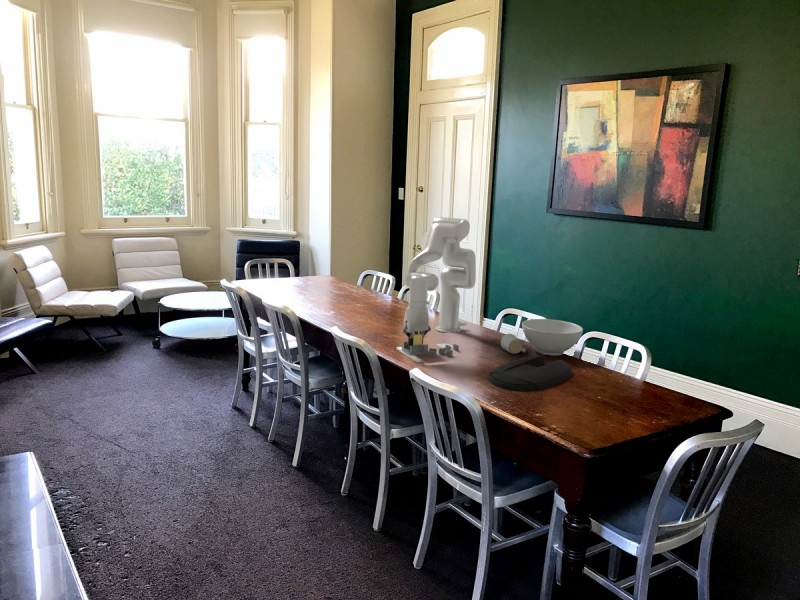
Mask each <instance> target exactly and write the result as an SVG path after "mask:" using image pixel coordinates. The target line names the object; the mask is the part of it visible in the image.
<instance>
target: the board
mask: <svg viewBox="0 0 800 600" xmlns="http://www.w3.org/2000/svg"><path fill="white" fill-rule="evenodd" d="M435 345H437V346H438V347H440V348H434V347H433V348H432V347H429V348H428V354H427V358H436V355H437V352H438V355H439V356H441V355H445V358H448V357H452V356H453V351H454V352H459V348H460V345H458V344H457V343H453V345H451V344H449V343H437V344H435ZM402 347H403V346H397V347H396V350H397V351H398V350H399V351H398V352H401V354H403V355H404V356H406V357H408V358H409V357H410V358H409V359H411V360H413V361H414V362H416V363H417V364H418V363H425V362H426V361H424V360H423V359H421V358H419V357H418V356H417V355H408V354H407V353H405V352H404V351H402ZM437 350H438V351H437Z"/></svg>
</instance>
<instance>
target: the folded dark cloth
mask: <svg viewBox="0 0 800 600" xmlns="http://www.w3.org/2000/svg"><path fill="white" fill-rule="evenodd" d="M545 362H546V355H533V356H532V355H531V356H526V357H521V358H517V359H515V360H512V361H509V362H506V363H504V364H502V365H500V366H498V367H496V368H495V369H493V370H491V372H490V373H489V377H488V381H489V382H490V383H491V384H492V385H494V386H496V387H498V388H501V389H506V390H510V391H519V392H527V391H540V390H545V389H548V387H549V388H551V387H554V386H557V385H558V384H561V383H563V382H565V381H566V380H568V379H569V378H571V376H572V375H573V370H572V368H571V367H570V365H569V364H568V363H567V362H566V361H565V360H563V359H557V360H553V361H550V362H548V363H545ZM543 364H544V365H543Z"/></svg>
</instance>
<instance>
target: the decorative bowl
mask: <svg viewBox="0 0 800 600" xmlns="http://www.w3.org/2000/svg"><path fill="white" fill-rule="evenodd" d="M521 327H522V332H523V335H524V337H525V338H526V340H527V342H528V344H530V345H531V346H532V347H533V348H534V349H535V351H536V352H537V353H538V354H541V355H544V356H546V355H547V356H561V355H563V354H565V352H566V351H568V350H570V349H571V348H573V347H574V346H575V345H576V344H577V343H578V341H579V340H580V338H581V337H582V335H583V331H584V329H583V327H582V326H581V325H578V324H575V323H573V322H570V321H569V322H568V321H564V320H558V319H549V318H532V319H526V320H524V321H522V323H521Z"/></svg>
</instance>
